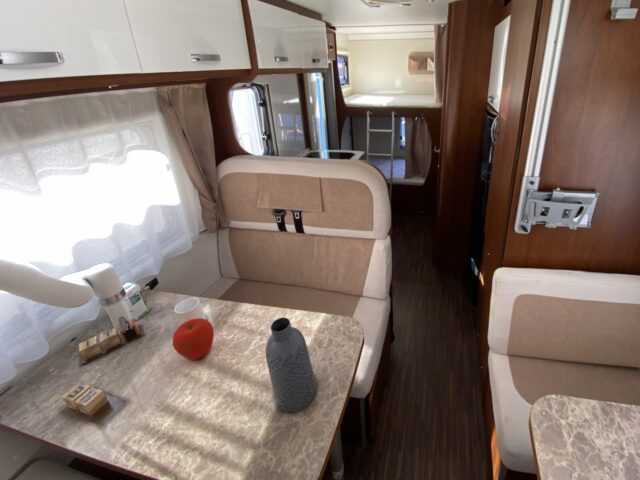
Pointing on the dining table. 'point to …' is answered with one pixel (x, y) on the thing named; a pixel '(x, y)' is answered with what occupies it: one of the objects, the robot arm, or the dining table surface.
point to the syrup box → (135, 301)
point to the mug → (189, 310)
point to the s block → (132, 326)
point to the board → (103, 344)
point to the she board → (100, 412)
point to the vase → (289, 367)
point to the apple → (193, 338)
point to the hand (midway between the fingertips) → (130, 333)
